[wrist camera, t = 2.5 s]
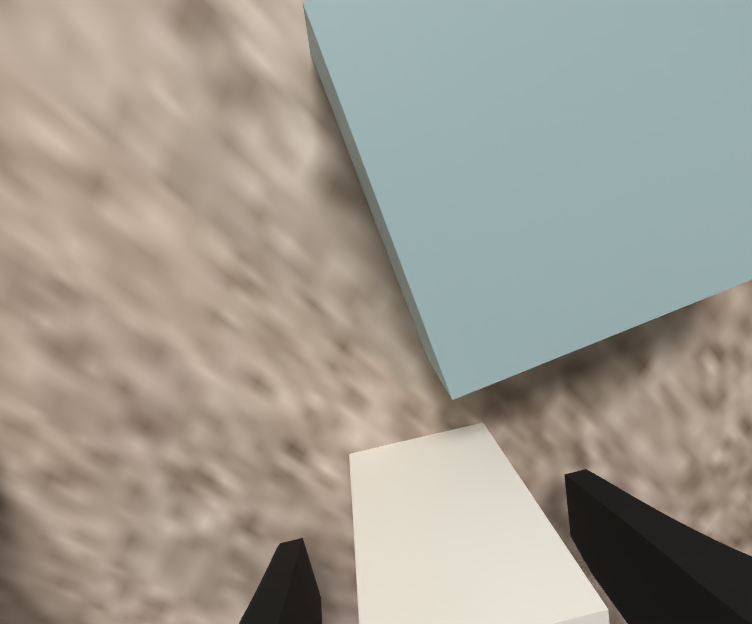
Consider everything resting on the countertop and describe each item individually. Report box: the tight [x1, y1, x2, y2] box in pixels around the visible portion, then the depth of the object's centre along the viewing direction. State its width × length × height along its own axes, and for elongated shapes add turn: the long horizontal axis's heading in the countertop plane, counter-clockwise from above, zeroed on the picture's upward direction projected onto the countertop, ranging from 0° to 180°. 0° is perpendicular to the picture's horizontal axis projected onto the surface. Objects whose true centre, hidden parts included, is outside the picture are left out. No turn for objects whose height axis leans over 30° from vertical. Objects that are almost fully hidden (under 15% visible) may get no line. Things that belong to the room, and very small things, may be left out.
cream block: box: [349, 423, 609, 624], centre depth 10 cm, size 4×4×6 cm
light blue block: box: [303, 0, 752, 400], centre depth 10 cm, size 8×8×3 cm
